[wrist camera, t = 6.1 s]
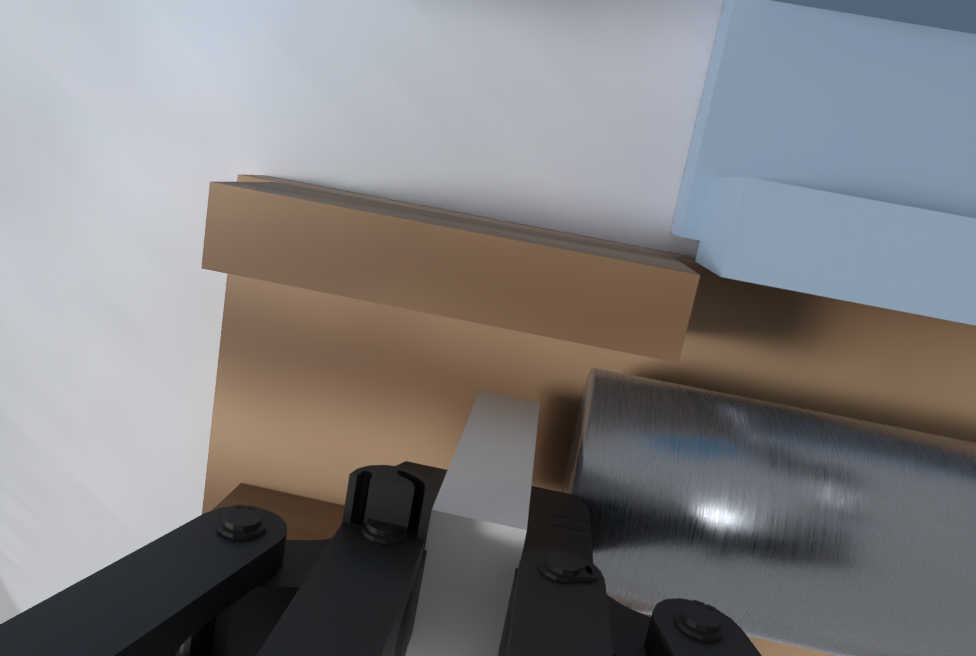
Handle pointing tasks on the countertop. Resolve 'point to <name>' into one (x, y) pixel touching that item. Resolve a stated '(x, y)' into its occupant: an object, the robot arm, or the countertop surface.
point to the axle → (779, 517)
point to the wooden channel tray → (506, 343)
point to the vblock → (840, 152)
